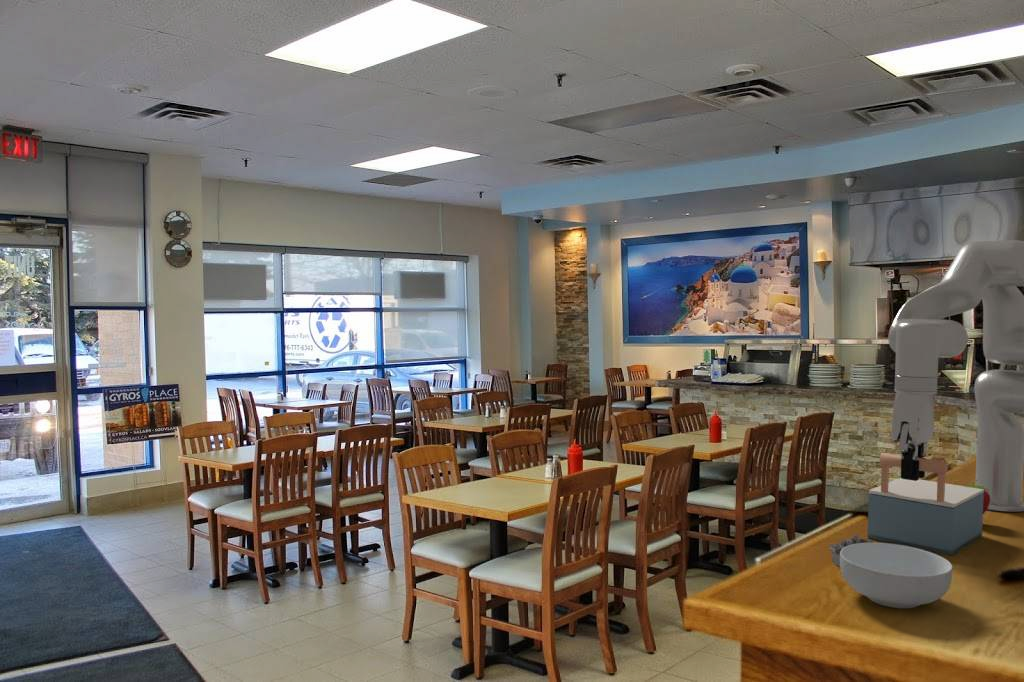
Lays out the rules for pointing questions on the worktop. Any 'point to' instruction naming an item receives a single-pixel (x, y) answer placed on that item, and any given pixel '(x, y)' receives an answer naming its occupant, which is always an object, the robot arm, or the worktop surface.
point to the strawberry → (985, 498)
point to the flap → (923, 484)
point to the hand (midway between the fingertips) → (912, 477)
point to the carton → (925, 523)
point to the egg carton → (838, 547)
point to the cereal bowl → (895, 573)
